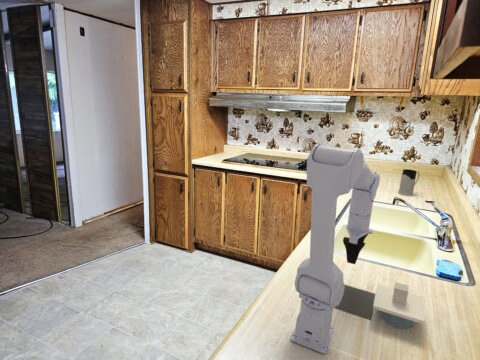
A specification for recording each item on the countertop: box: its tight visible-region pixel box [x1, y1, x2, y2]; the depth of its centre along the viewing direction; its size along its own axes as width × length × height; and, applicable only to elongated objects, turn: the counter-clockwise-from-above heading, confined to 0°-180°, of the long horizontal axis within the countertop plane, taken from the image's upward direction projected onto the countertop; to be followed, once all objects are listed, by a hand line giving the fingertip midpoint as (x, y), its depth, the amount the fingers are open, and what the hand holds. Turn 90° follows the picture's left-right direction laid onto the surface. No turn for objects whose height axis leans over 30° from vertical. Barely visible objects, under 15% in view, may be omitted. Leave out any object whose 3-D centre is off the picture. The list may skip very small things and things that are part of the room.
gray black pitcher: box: [397, 168, 420, 197], centre depth 197 cm, size 9×14×15 cm, turn 117°
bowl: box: [379, 311, 415, 330], centre depth 80 cm, size 7×7×4 cm
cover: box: [373, 281, 426, 325], centre depth 79 cm, size 11×11×5 cm
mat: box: [333, 284, 376, 321], centre depth 88 cm, size 13×13×1 cm
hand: (353, 257), depth 91 cm, fingers open, 7 cm apart
